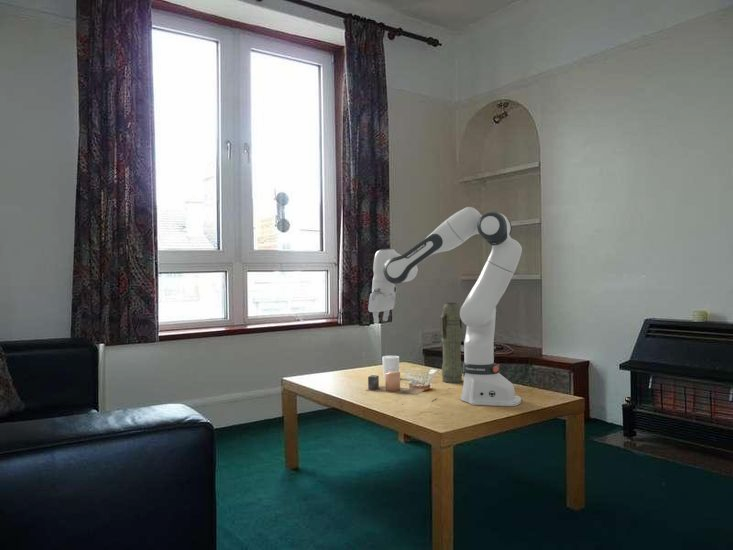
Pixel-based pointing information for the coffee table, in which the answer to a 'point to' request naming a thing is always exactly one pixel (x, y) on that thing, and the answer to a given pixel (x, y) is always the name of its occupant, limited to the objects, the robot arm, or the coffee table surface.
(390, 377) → the terracotta upright block
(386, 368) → the white cup
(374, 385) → the walnut strip
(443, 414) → the coffee table surface
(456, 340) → the thermos
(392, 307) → the robot arm
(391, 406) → the coffee table surface
